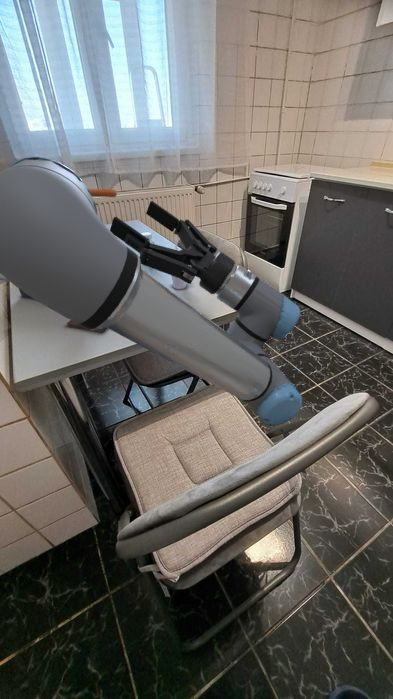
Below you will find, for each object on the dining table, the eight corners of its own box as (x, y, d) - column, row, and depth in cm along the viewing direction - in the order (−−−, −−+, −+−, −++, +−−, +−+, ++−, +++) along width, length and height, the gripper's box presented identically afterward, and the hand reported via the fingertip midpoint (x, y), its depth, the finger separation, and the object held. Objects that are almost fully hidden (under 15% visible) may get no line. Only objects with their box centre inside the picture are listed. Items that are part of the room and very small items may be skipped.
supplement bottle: (150, 264, 106) (147, 236, 100) (138, 261, 108) (134, 234, 102) (159, 259, 109) (156, 232, 104) (147, 257, 112) (144, 230, 106)
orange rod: (28, 194, 59) (26, 187, 58) (33, 193, 60) (31, 186, 59) (115, 197, 53) (113, 190, 53) (118, 196, 54) (117, 189, 54)
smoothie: (184, 280, 94) (182, 235, 85) (193, 288, 89) (192, 241, 81) (166, 284, 91) (161, 238, 83) (174, 292, 87) (170, 244, 78)
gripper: (249, 243, 63) (167, 185, 62) (217, 293, 44) (98, 211, 43) (231, 270, 68) (154, 217, 67) (195, 326, 49) (87, 253, 48)
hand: (132, 214), depth 55 cm, fingers open, 13 cm apart
